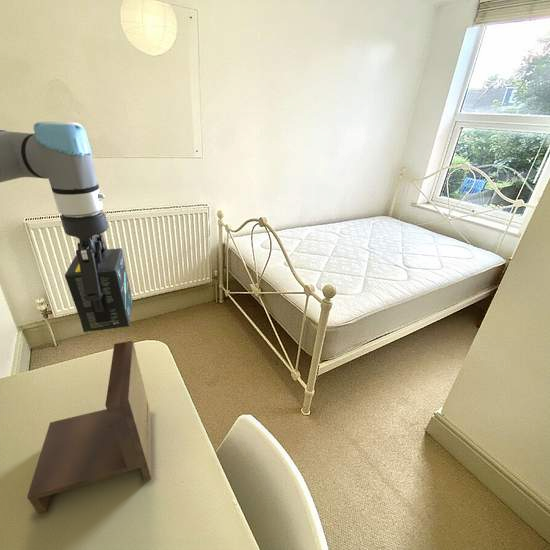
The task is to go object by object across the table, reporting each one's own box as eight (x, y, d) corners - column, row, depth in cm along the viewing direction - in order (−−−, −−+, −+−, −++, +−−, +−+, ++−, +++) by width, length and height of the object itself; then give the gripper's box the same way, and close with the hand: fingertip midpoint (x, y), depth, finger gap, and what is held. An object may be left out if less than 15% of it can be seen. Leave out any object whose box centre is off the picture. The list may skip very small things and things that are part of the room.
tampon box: (92, 305, 74) (76, 250, 67) (133, 300, 77) (122, 246, 70) (82, 334, 65) (62, 274, 58) (129, 327, 68) (116, 269, 61)
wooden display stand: (39, 515, 52) (-18, 433, 41) (59, 440, 64) (19, 360, 53) (151, 480, 58) (128, 399, 47) (151, 417, 69) (132, 340, 58)
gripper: (95, 232, 51) (121, 335, 61) (110, 194, 70) (128, 278, 80) (42, 236, 48) (78, 342, 59) (72, 196, 67) (96, 282, 78)
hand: (107, 305), depth 70 cm, fingers closed on tampon box, 11 cm apart
